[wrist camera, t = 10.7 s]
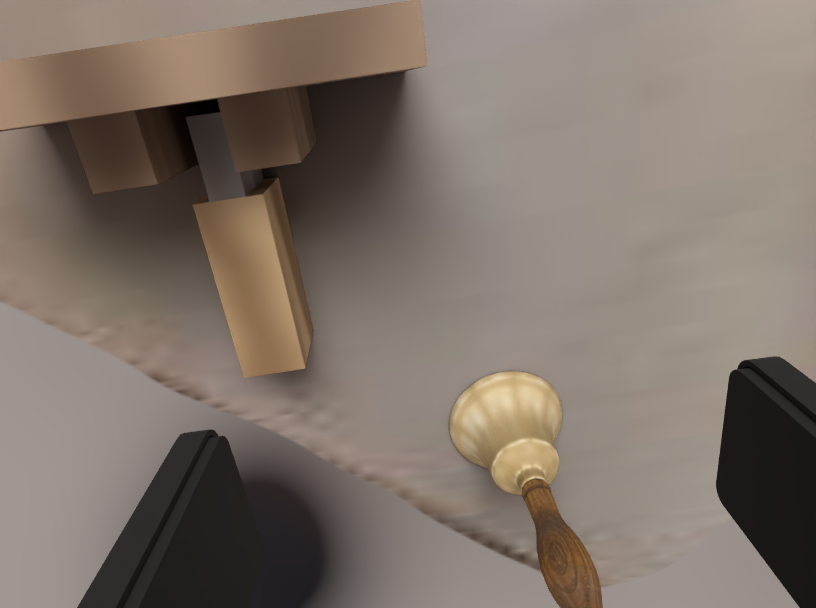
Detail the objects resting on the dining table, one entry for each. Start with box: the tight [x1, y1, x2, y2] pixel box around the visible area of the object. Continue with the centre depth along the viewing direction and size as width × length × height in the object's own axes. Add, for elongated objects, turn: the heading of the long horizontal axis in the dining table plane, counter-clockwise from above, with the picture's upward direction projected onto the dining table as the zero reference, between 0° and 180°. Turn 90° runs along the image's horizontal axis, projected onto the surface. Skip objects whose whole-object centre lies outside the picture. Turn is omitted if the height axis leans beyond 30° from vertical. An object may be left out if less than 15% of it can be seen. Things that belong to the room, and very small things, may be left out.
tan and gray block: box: [185, 110, 313, 378], centre depth 30 cm, size 4×14×5 cm, turn 8°
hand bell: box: [449, 371, 603, 608], centre depth 31 cm, size 8×8×16 cm
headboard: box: [0, 0, 428, 194], centre depth 24 cm, size 20×5×12 cm, turn 98°
